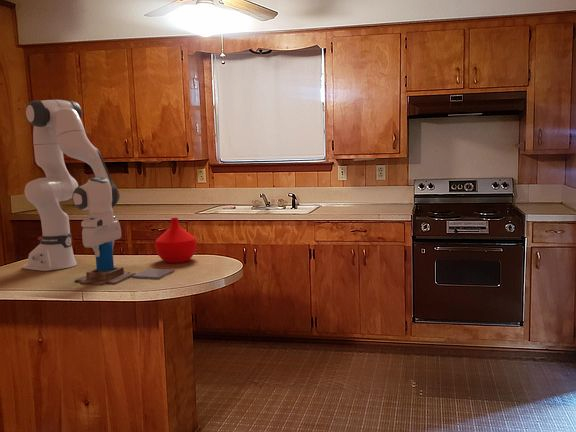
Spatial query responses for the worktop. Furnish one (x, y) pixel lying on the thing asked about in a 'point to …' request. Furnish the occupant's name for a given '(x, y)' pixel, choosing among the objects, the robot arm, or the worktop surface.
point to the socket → (105, 277)
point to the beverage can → (105, 258)
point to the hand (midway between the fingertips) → (104, 254)
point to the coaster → (153, 273)
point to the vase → (175, 244)
